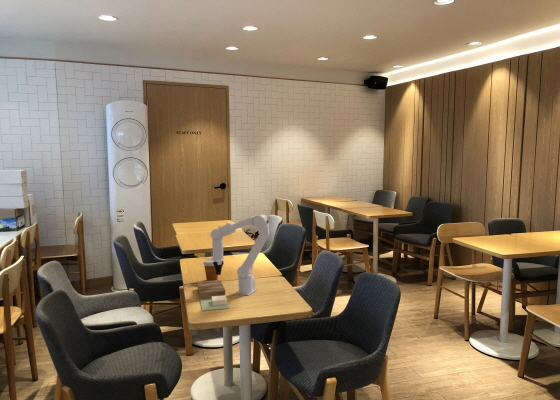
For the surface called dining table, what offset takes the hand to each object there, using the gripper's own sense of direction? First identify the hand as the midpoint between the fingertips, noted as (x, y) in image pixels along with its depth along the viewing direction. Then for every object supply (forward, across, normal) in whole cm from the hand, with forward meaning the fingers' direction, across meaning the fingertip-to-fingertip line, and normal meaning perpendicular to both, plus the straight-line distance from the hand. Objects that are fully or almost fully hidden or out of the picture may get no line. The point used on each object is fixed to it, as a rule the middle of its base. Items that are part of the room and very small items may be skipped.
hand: (218, 274), depth 234 cm
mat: (+9, +20, -4) cm, 22 cm away
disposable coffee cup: (+10, -22, -2) cm, 24 cm away
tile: (+8, +19, -2) cm, 21 cm away
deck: (+9, +2, -4) cm, 11 cm away
